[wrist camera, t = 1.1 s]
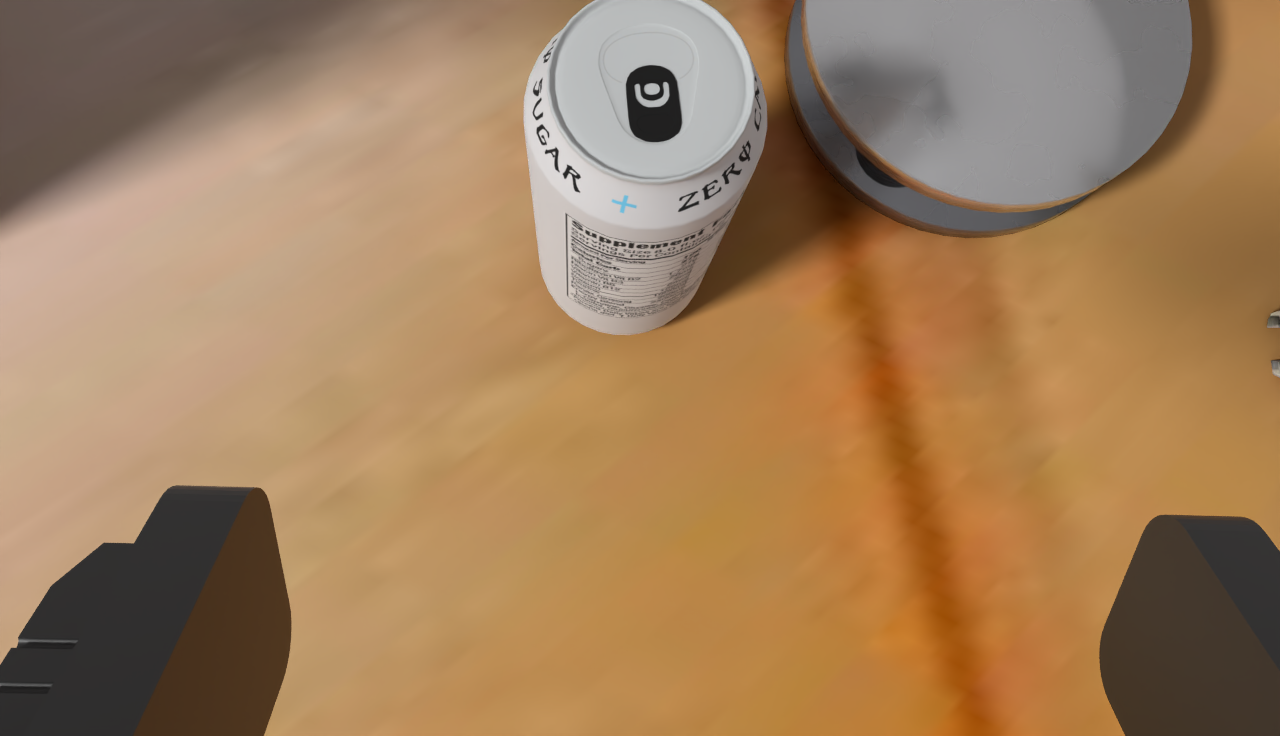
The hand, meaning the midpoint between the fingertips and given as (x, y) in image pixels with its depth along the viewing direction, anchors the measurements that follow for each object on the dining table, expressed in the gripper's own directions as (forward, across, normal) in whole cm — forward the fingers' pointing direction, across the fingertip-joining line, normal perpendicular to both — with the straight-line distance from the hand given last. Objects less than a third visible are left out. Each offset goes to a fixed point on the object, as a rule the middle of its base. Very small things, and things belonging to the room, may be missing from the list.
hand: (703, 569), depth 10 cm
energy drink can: (+28, 0, +11) cm, 30 cm away
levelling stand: (+33, -13, +5) cm, 36 cm away
